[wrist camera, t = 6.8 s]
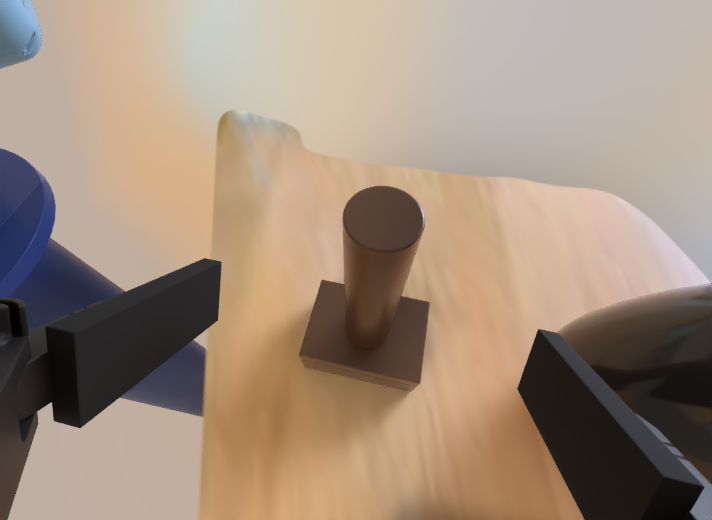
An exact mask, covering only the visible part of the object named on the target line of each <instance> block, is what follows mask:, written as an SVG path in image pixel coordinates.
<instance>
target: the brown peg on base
mask: <svg viewBox="0 0 712 520" xmlns="http://www.w3.org/2000/svg"><path fill="white" fill-rule="evenodd" d="M424 226H425V218H424V213H423V211H422V208H421V206H420V205H419V203H418V202H417V201H416V200H415V199H414V198H413V197H412V196H411V195H410V194H408V193H406V192H405V191H403V190H400V189H398V188H394V187H389V186H374V187H370V188H366V189H364V190H361V191H360V192H358V193H356V194H355V195H354V196H353V197H352V198H351V199H350V200H349V201H348V203H347V204H346V206H345V209H344V212H343V250H344V284H340V283H335V282H330V281H326V280H322V281H321V284H320V287H319V291H318V294H317V297H316V301H315V304H314V307H313V311H312V314H311V317H310V321H309V324H308V327H307V331H306V334H305V337H304V340H303V344H302V347H301V350H300V354H299V356H300V358H301V360H302V362H303V364H304V366H305V367H307V368H312V369H316V370H320V371H324V372H329V373H333V374H337V375H342V376H346V377H350V378H354V379H359V380H363V381H367V382H372V383H376V384H380V385H385V386H389V387H393V388H397V389H402V390H406V391H410V392H411V391H412V390H413V389H414V388H415V387H416V386H418V385H419V384H420V380H421V371H422V363H423V355H424V346H425V338H426V329H427V321H428V313H429V304H430V303H429V302H427V301H422V300H417V299H412V298H407V297H403V296H401V295H402V292H403V289H404V286H405V283H406V280H407V277H408V274H409V271H410V268H411V265H412V262H413V260H414V257H415V254H416V251H417V248H418V245H419V242H420V239H421V236H422V233H423V230H424Z"/></svg>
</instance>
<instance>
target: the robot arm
mask: <svg viewBox="0 0 712 520" xmlns="http://www.w3.org/2000/svg"><path fill="white" fill-rule="evenodd" d="M41 43H42V35H41V28H40V25H39V21H38V18H37V16H36V13H35V10H34V8H33V6H32V3H31V1H30V0H0V68H3V67H7V66H10V65H14V64H17V63H20V62H23V61H27V60H29V59H31V58H33V57H34V56H35V55H36V54H37V53H38V51H39V49H40V47H41ZM220 278H221V262H220V261H215V260H210V259H206V258H205V259H202V260H200V261H197V262H195V263H192V264H190V265H188V266H185V267H183V268H181V269H178V270H176V271H174V272H171V273H169V274H167V275H165V276H162V277H160V278H158V279H155V280H152V281H150V282H148V283H146V284H143V285H141V286H138V287H136V288H134V289H131V290H129V291H127V292H124V293H122V294H120V295H117V296H115V297H113V298H110V299H106V300H102V301H98V302H96V303H93V304H91V305H89V306H86V307H84V309H79V310H77V311H74V312H72V313H71V315H69V314H67V315H65V316H62V317H60V318H58V319H55V320H53V321H50V322H48V323H46V324H43V325H41V326H39V327H36V328H34V329H31V330H29V331H28V323H27V314H26V304H25V302H23V301H22V300H20V299H14V298H0V520H7V519H8V516H9V513H10V509H11V506H12V503H13V500H14V497H15V494H16V491H17V488H18V485H19V482H20V478H21V475H22V472H23V469H24V466H25V463H26V460H27V457H28V453H29V450H30V447H31V444H32V441H33V438H34V435H35V432H36V429H37V425H38V415H37V411H38V410H40V409H42V408H43V407H45V406H46V405H48V404H49V403H51V402H52V406H53V417H54V421H56V422H59V423H64V424H67V425H70V426H74V427H78V428H81V427H82V426H84V425H85V424H86V423H87V422H89V421H90V420H91V419H93V418H94V417H95V416H96V415H98V414H99V413H100V412H102V411H103V410H104V409H105V408H107V407H108V406H109V405H110V404H112V403H113V402H114V401H115V400H116V399H118V398H119V397H121V396H122V395H123V394H125V393H126V392H127V391H128V390H130V389H131V388H132V387H133V386H135V385H136V384H137V383H139V382H140V381H141V380H142V379H144V378H145V377H146V376H147V375H149V374H150V373H151V372H153V371H154V370H155V369H156V368H158V367H159V366H160V365H161V364H163V363H164V362H165V361H167V360H168V359H169V358H170V357H172V356H173V355H174V354H175V353H177V352H178V351H179V350H181V349H182V348H183V347H184V346H186V345H187V344H188V343H189V342H191V341H192V340H193V339H195V338H196V337H197V336H198V335H200V334H201V333H202V332H204V331H205V330H206V329H207V328H209V327H210V326H211V325H212V324H214V323H215V322H216V321H218V310H219V294H220ZM517 389H518V391H519V393H520V395H521V397H522V399H523V401H524V403H525V405H526V407H527V409H528V411H529V413H530V415H531V416H532V418H533V420H534V422H535V424H536V426H537V428H538V430H539V432H540V434H541V436H542V438H543V440H544V442H545V444H546V446H547V447H548V449H549V451H550V453H551V455H552V457H553V459H554V461H555V463H556V465H557V467H558V469H559V471H560V473H561V475H562V477H563V479H564V480H565V482H566V484H567V486H568V488H569V490H570V492H571V494H572V496H573V498H574V500H575V502H576V504H577V506H578V508H579V510H580V511H581V513H582V515H583V517H584V519H585V520H712V484H711V483H710V482H709V481H708V480H707V479H706V478H705V477H704V476H703V475H702V474H701V473H700V472H699V471H698V470H697V469H696V468H695V467H694V466H693V465H692V464H691V463H690V462H689V461H688V460H685V456H684V455H683V454H682V453H681V452H680V451H679V450H678V449H677V448H676V447H673V446H672V443H671V442H670V441H669V440H668V439H667V438H666V437H665V436H664V435H663V434H662V433H661V432H660V431H659V430H658V429H657V428H655V427H654V426H653V425H651V424H650V423H649V422H647V421H646V420H644V419H643V418H642V417H640V416H639V415H637V414H635V413H634V412H633V411H632V410H631V409H630V408H629V407H628V406H627V405H626V404H625V403H624V401H623V400H622V399H621V398H620V397H619V396H618V395H617V394H616V393H615V392H614V391H613V390H612V389H611V388H610V387H609V386H608V385H607V384H606V383H605V382H604V380H603V379H602V378H601V377H600V376H599V375H598V374H597V373H596V372H595V371H594V370H593V369H592V368H591V367H590V366H589V365H588V364H587V363H586V362H585V361H584V359H583V358H582V357H581V356H580V355H579V354H578V353H577V352H576V351H575V350H574V349H573V348H572V347H571V346H570V345H569V344H568V343H567V342H566V341H565V339H564V338H563V337H562V336H561V335H560V334H559V333H555V332H550V331H545V330H540V329H538V332H537V334H536V337H535V340H534V343H533V346H532V349H531V351H530V354H529V357H528V360H527V363H526V366H525V368H524V371H523V374H522V377H521V380H520V383H519V386H518V388H517Z"/></svg>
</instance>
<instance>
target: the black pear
mask: <svg viewBox="0 0 712 520" xmlns="http://www.w3.org/2000/svg"><path fill="white" fill-rule="evenodd" d="M557 333H559V334H560V335H561V336H562V337H563V338H564V339H565V341H566V342H567V343H568V344H569V345H570V346H571V347H572V348H573V349H574V350H575V351H576V352H577V353H578V354H579V355H580V356H581V357H582V358H583V359H584V361H585V362H586V363H587V364H588V365H589V366H590V367H591V368H592V369H593V370H594V371H595V372H596V373H597V374H598V375H599V376H600V377H601V378H602V379H603V380H604V382H605V383H606V384H607V385H608V386H609V387H610V388H611V389H612V390H613V391H614V392H615V393H616V394H617V395H618V396H619V397H620V398H621V399H622V400H623V401H624V403H625V404H626V405H627V406H628V407H629V408H630V409H631V410H632V411H633V412H634V413H635V414H637V415H639V416H640V417H642V418H643V419H644V420H646V421H647V422H649V423H650V424H651V425H653V426H654V427H655V428H657V429H658V430H659V431H660V432H661V433H662V434H663V435H664V436H665V437H666V438H667V439H668V440H669V441H670V442H671V443H672V446H673V447H676V448H677V449H678V450H679V451H680V452H681V453H682V454H683V455H684V456H685V460H688V461H689V462H690V463H691V464H692V465H693V466H694V467H695V468H696V469H697V470H698V471H699V472H700V473H701V474H702V475H703V476H704V477H705V478H706V479H707V480H708V481H709V482H710V483H711V484H712V283H710V284H703V285H697V286H690V287H684V288H679V289H673V290H668V291H663V292H658V293H653V294H649V295H645V296H641V297H637V298H633V299H629V300H626V301H623V302H619V303H616V304H613V305H610V306H607V307H604V308H601V309H598V310H595V311H592V312H590V313H587V314H585V315H583V316H581V317H579V318H577V319H575V320H573V321H571V322H570V323H568V324H567V325H565V326H564V327H562V328H561V329H560V330H559V331H558V332H557Z"/></svg>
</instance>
